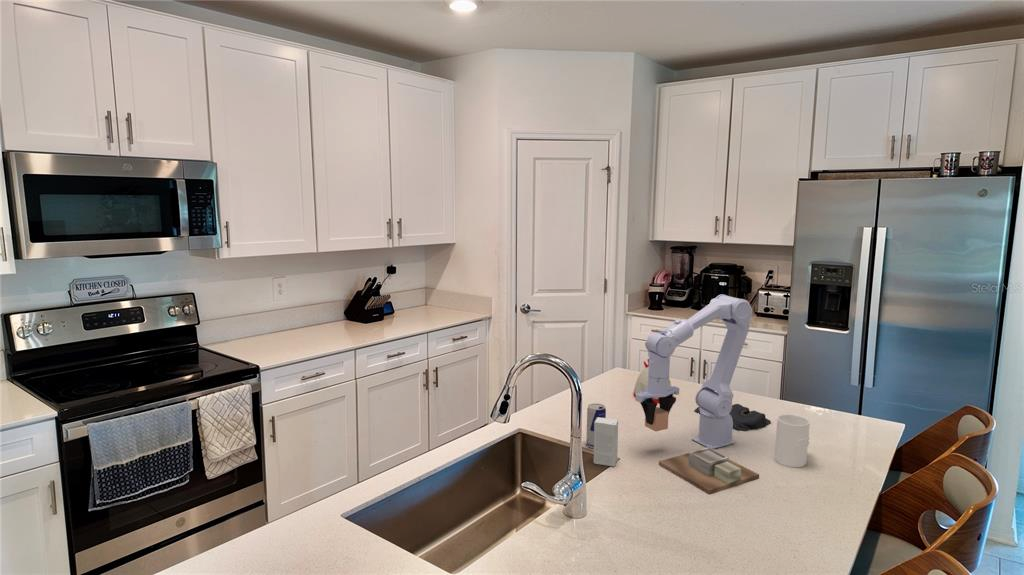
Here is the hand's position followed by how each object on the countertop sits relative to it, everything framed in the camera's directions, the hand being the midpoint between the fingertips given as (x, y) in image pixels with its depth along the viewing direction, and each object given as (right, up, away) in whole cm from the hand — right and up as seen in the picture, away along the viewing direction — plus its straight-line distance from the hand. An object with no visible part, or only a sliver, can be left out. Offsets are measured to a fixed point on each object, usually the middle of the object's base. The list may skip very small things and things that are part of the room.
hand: (656, 421), depth 166 cm
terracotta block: (0, -2, 0) cm, 2 cm away
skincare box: (-15, -10, -6) cm, 19 cm away
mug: (+38, -10, -3) cm, 39 cm away
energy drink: (-17, -8, +5) cm, 19 cm away
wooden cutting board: (+11, -11, -11) cm, 19 cm away
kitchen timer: (+10, -2, +47) cm, 48 cm away
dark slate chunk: (+32, -6, +28) cm, 42 cm away
